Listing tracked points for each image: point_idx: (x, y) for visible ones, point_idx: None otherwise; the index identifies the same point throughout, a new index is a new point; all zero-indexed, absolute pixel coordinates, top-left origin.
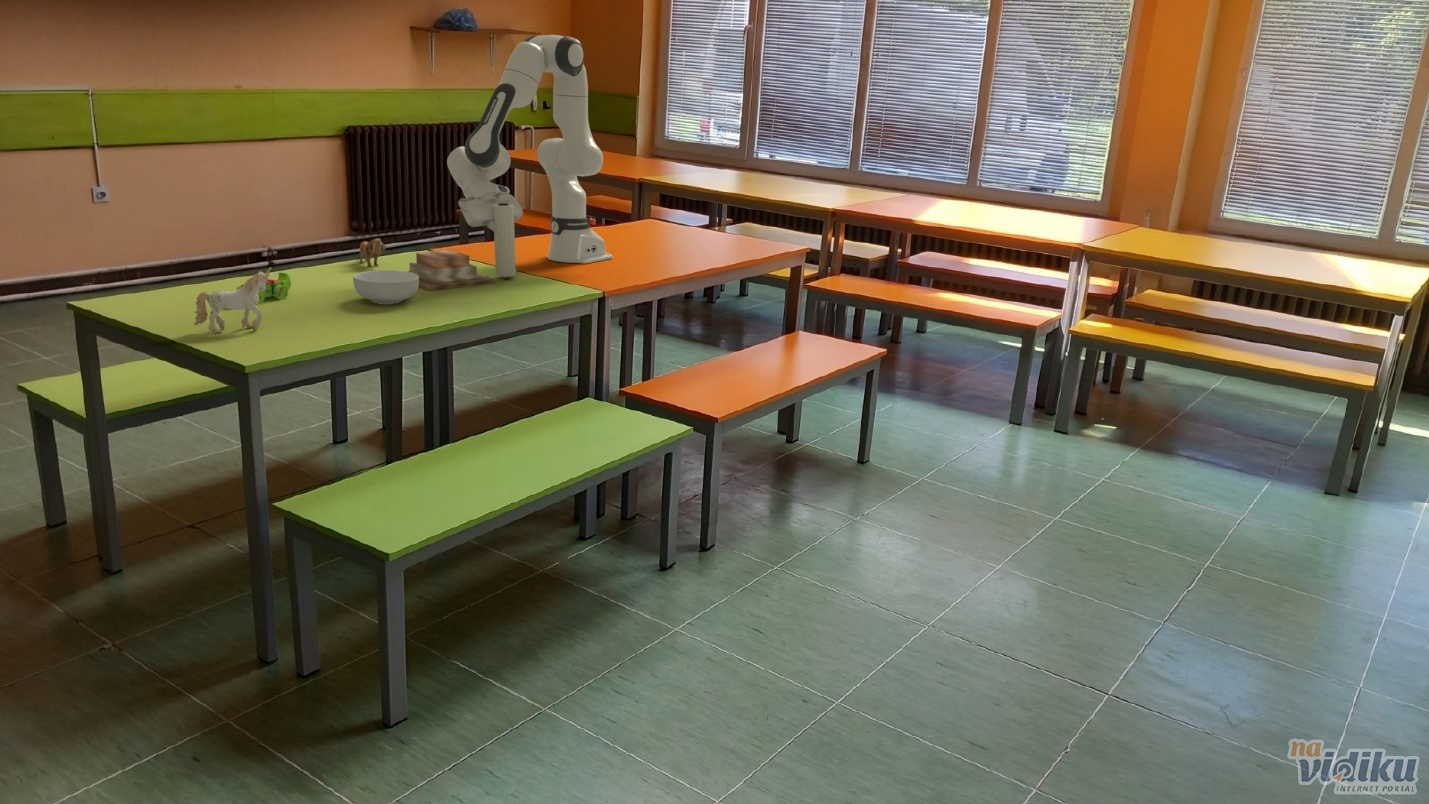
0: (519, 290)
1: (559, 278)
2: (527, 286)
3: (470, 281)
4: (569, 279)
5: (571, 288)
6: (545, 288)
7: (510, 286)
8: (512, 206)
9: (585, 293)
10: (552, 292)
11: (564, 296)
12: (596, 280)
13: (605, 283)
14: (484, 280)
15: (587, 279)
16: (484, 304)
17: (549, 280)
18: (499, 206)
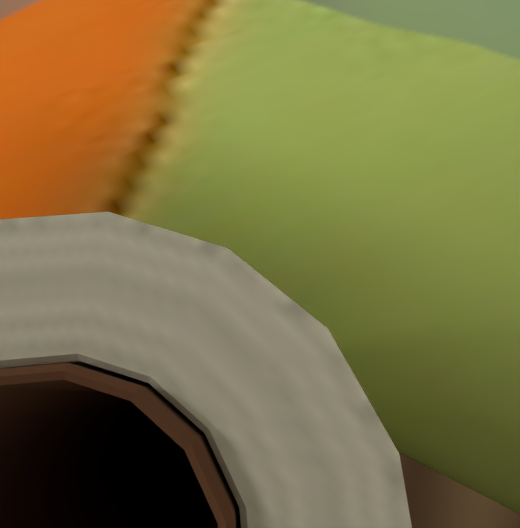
0: (417, 233)
1: (79, 198)
2: (322, 241)
3: (484, 512)
4: (79, 154)
5: (248, 79)
6: (311, 160)
7: (370, 307)
8: (74, 222)
9: (299, 8)
10: (361, 107)
11: (395, 46)
12: (45, 60)
13: (86, 14)
14: (407, 456)
15: (42, 94)
16: None
17: (145, 216)
18: (405, 525)
